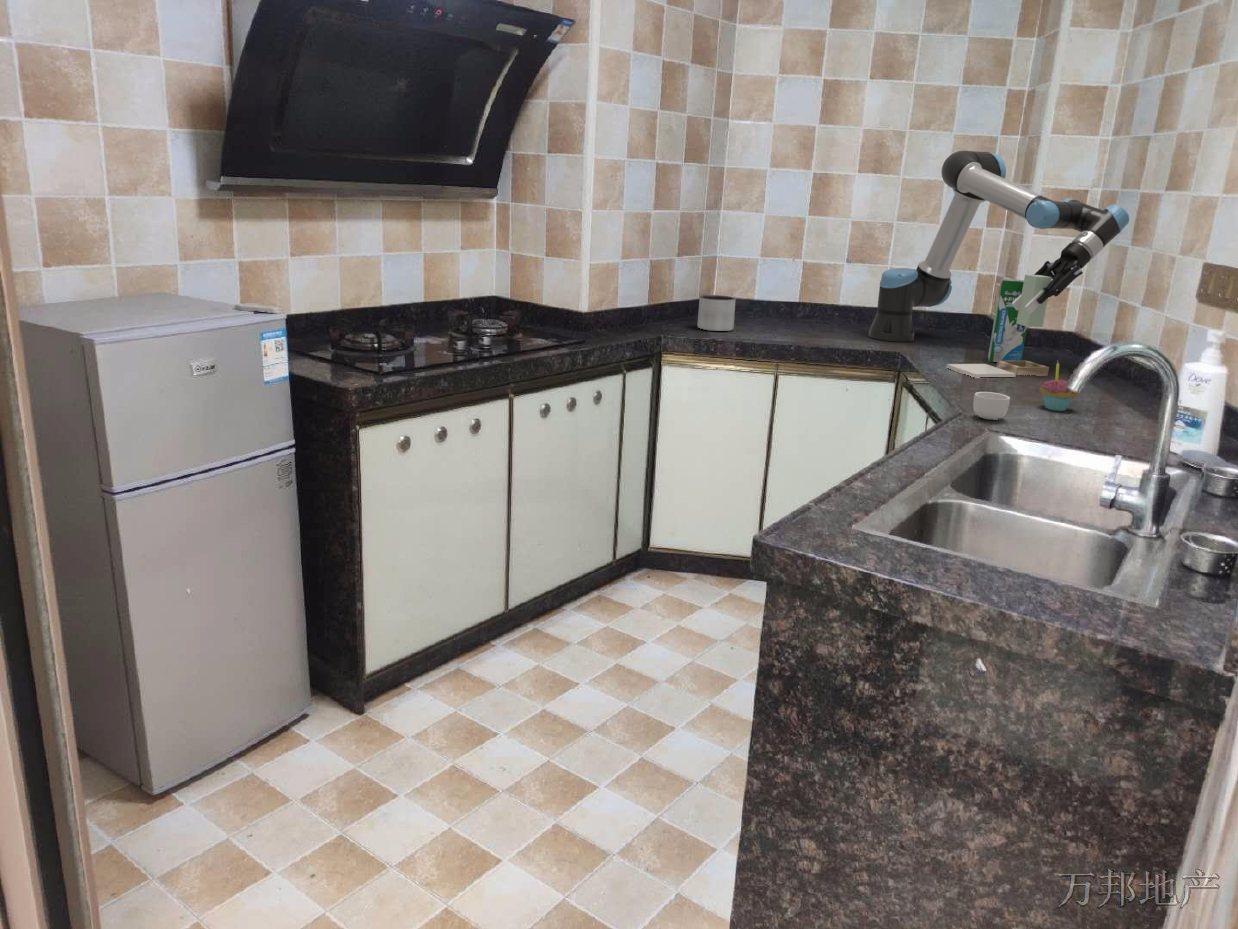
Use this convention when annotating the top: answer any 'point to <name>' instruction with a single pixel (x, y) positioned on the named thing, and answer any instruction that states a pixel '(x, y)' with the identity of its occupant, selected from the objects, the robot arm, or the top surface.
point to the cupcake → (1056, 393)
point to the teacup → (990, 404)
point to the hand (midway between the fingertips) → (1021, 308)
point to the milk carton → (1007, 325)
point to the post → (1029, 291)
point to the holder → (1023, 368)
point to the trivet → (980, 370)
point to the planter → (716, 313)
